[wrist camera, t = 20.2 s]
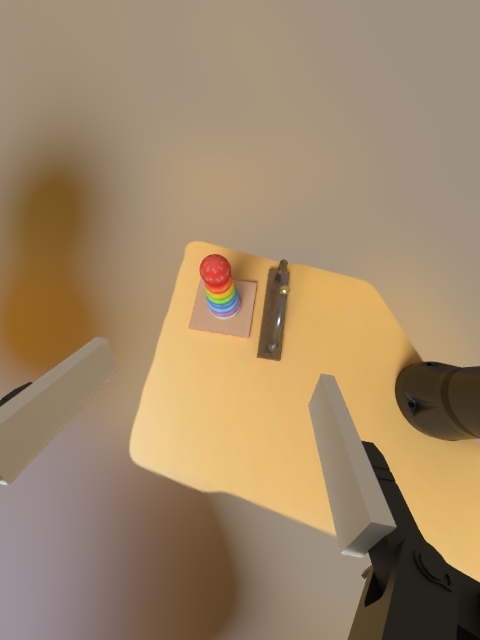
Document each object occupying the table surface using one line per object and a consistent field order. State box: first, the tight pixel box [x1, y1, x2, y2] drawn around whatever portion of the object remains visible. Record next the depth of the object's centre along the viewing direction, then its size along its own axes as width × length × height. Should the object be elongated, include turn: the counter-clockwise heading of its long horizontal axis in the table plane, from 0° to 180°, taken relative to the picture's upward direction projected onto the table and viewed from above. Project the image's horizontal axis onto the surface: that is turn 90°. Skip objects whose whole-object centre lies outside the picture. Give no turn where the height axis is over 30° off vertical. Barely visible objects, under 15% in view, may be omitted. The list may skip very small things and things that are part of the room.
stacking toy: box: [200, 254, 241, 320], centre depth 40 cm, size 8×8×19 cm
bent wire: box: [257, 260, 290, 361], centre depth 43 cm, size 22×5×14 cm, turn 171°
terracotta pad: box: [189, 277, 257, 339], centre depth 50 cm, size 14×14×1 cm
